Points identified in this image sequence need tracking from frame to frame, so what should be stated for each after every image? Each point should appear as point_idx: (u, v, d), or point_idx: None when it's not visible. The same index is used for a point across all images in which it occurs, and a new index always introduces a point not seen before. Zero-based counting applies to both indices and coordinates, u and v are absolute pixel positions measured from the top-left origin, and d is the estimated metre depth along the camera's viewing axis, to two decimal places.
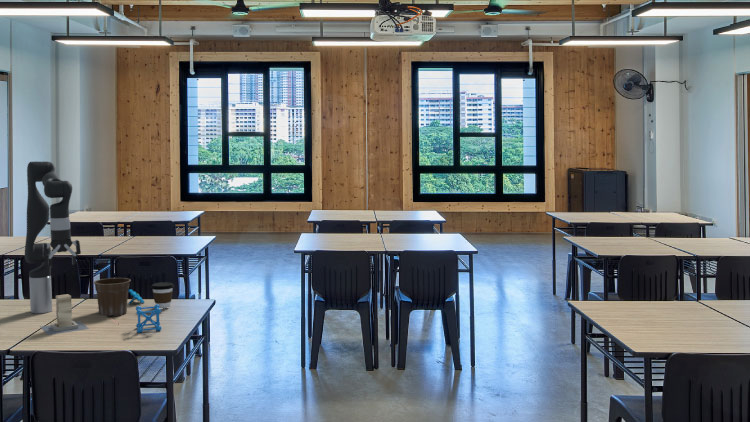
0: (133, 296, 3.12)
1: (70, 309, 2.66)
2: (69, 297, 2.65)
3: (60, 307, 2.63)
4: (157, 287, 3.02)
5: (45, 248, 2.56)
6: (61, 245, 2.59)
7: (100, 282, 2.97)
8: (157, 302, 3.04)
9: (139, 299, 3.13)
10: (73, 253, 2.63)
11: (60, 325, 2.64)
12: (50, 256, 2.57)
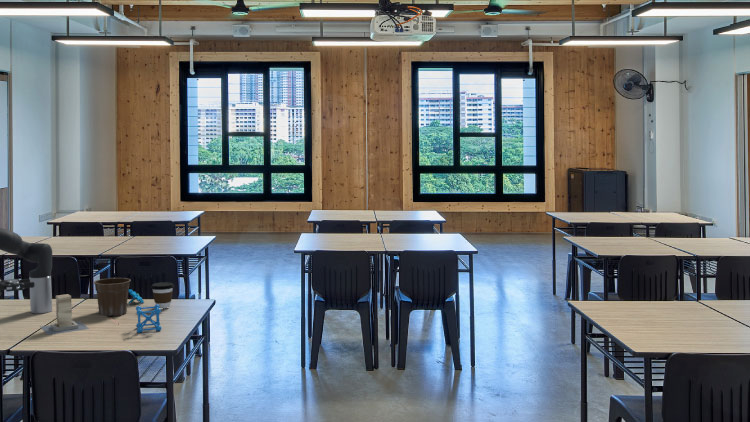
0: (133, 296, 3.12)
1: (70, 309, 2.66)
2: (69, 297, 2.65)
3: (60, 307, 2.63)
4: (157, 287, 3.02)
5: None
6: None
7: (100, 282, 2.97)
8: (157, 302, 3.04)
9: (139, 299, 3.13)
10: None
11: (60, 325, 2.64)
12: None
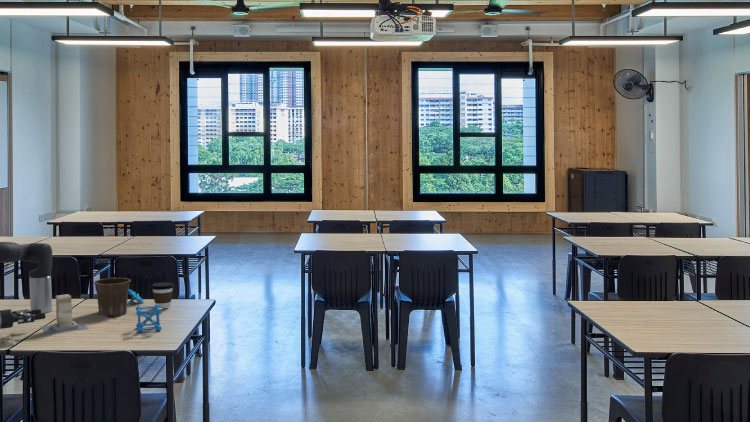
0: (132, 296, 3.12)
1: (70, 309, 2.66)
2: (69, 297, 2.65)
3: (60, 307, 2.63)
4: (157, 287, 3.02)
5: None
6: None
7: (100, 282, 2.97)
8: (157, 302, 3.04)
9: (138, 299, 3.13)
10: None
11: (60, 325, 2.64)
12: None
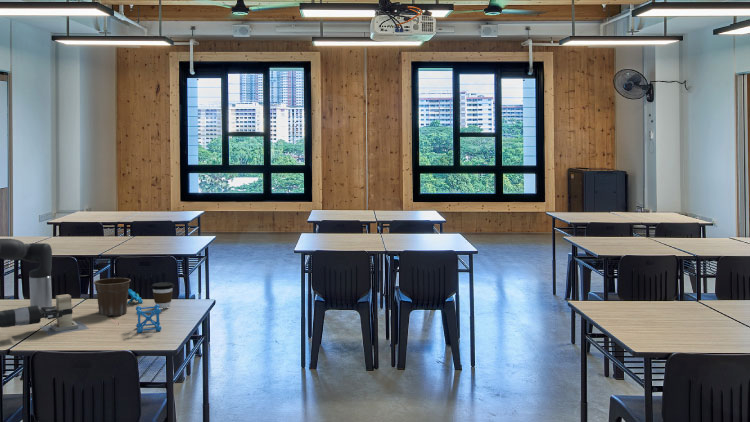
0: (131, 296, 3.12)
1: None
2: (69, 297, 2.65)
3: (60, 307, 2.63)
4: (157, 287, 3.02)
5: None
6: None
7: (100, 282, 2.97)
8: (157, 302, 3.04)
9: (137, 299, 3.13)
10: None
11: (60, 325, 2.64)
12: None
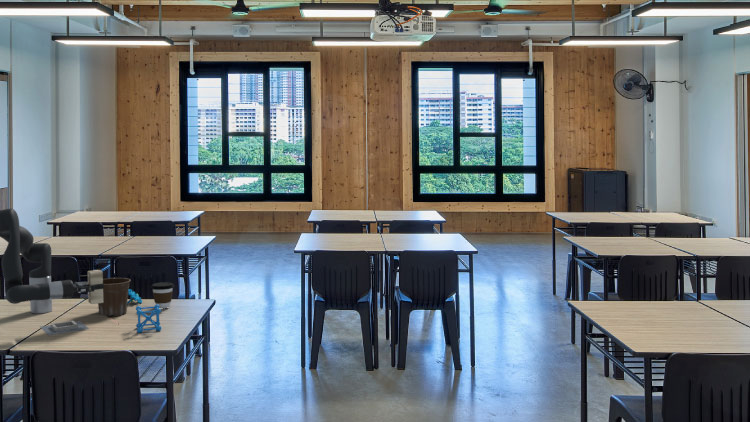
0: None
1: None
2: (100, 272, 2.73)
3: (92, 282, 2.71)
4: (157, 287, 3.02)
5: None
6: None
7: None
8: (157, 302, 3.04)
9: (136, 299, 3.13)
10: None
11: (92, 299, 2.71)
12: None
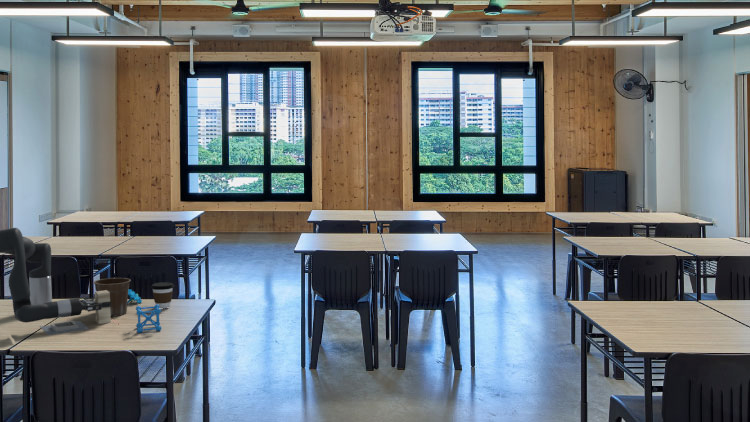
0: None
1: None
2: (108, 293, 2.75)
3: (99, 302, 2.73)
4: (157, 287, 3.02)
5: None
6: None
7: (100, 282, 2.97)
8: (157, 302, 3.04)
9: (135, 299, 3.13)
10: None
11: (99, 320, 2.74)
12: None
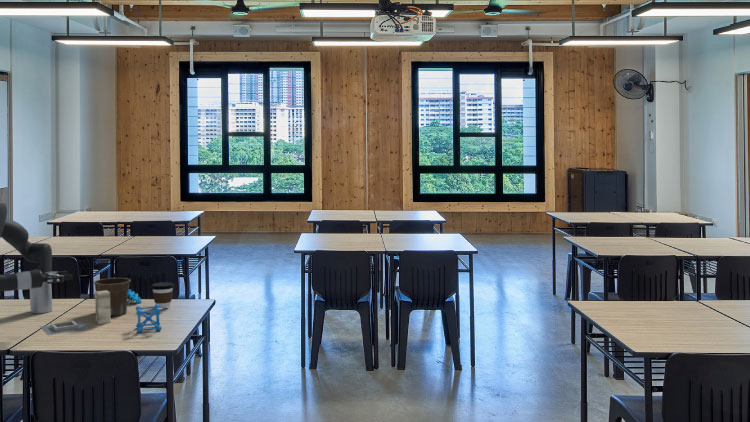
0: None
1: (109, 305, 2.76)
2: (108, 293, 2.75)
3: (100, 303, 2.73)
4: (157, 287, 3.02)
5: None
6: None
7: (100, 282, 2.97)
8: (157, 302, 3.04)
9: (134, 299, 3.13)
10: None
11: (99, 320, 2.74)
12: None
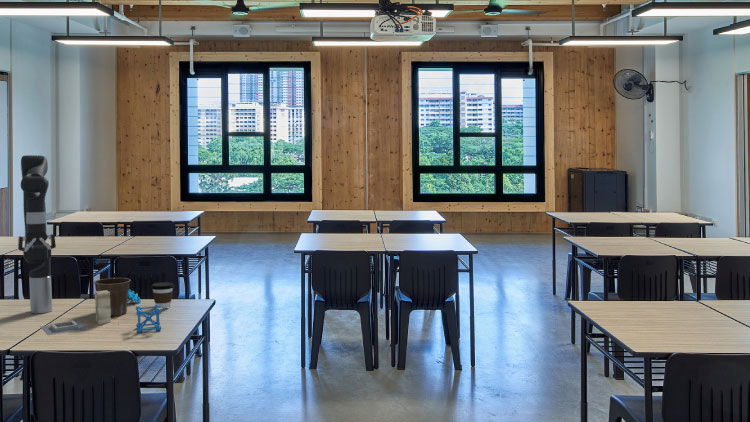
0: None
1: (109, 305, 2.76)
2: (108, 293, 2.75)
3: (100, 303, 2.73)
4: (157, 287, 3.02)
5: (21, 241, 2.65)
6: (36, 238, 2.69)
7: (100, 282, 2.97)
8: (157, 302, 3.04)
9: (133, 299, 3.13)
10: (48, 247, 2.72)
11: (99, 320, 2.74)
12: (25, 249, 2.66)
